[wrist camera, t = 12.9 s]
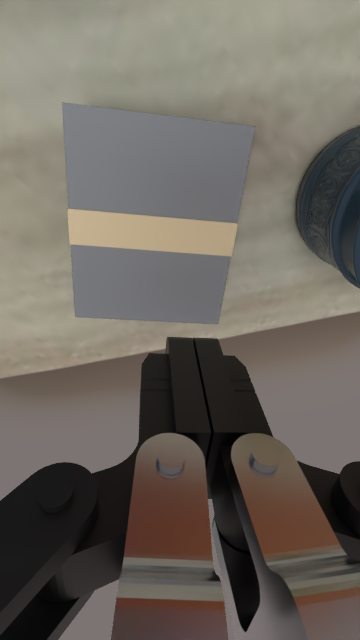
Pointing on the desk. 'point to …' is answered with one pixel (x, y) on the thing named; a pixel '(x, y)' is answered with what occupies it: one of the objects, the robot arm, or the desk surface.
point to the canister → (334, 205)
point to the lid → (152, 212)
